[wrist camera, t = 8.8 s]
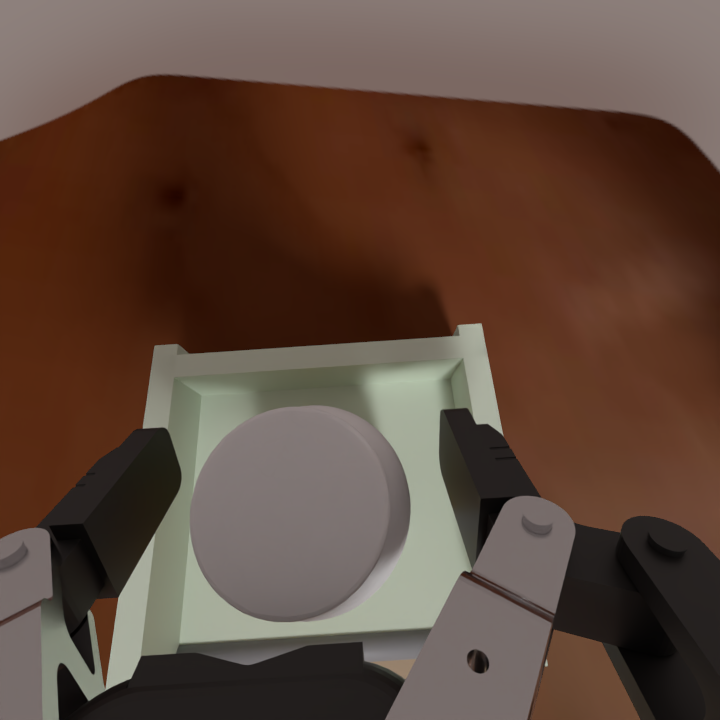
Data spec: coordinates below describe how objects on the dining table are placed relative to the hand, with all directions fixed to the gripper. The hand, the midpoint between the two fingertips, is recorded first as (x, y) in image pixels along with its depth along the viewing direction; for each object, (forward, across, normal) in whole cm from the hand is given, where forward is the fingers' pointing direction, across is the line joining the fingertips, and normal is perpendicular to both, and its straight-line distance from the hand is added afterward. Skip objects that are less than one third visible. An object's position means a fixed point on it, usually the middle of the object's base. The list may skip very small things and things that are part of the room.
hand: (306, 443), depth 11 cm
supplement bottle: (+3, 0, +6) cm, 7 cm away
